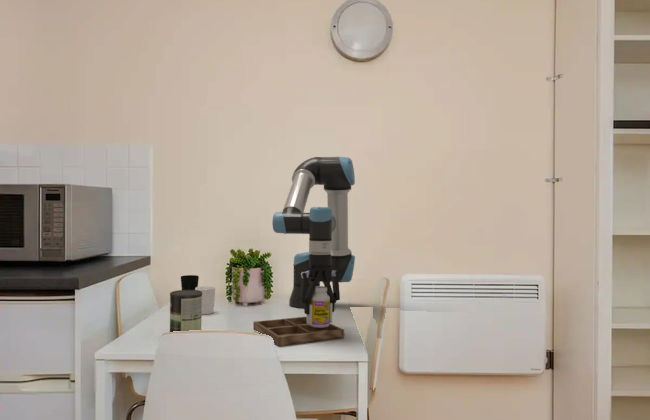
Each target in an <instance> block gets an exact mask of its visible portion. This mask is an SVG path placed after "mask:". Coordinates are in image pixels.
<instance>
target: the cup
mask: <svg viewBox="0 0 650 420" xmlns="http://www.w3.org/2000/svg"><path fill="white" fill-rule="evenodd" d="M199 276H200V275H197V274H196V275H194V274H193V275H191V274H189V275H181V276H180V286H181V290H195V288H196V287H199V279H200V277H199Z"/></svg>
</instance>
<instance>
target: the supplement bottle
mask: <svg viewBox="0 0 650 420" xmlns="http://www.w3.org/2000/svg"><path fill="white" fill-rule="evenodd" d="M326 292H327V287H325V286H323V285H320V286H316V287H315V290H314V294H313V296H312V299H311V303H310V304H312V325H310V326H311V327H315V328H325V327H328V326H329V317H330V297H329V296H328V295H327V293H326Z"/></svg>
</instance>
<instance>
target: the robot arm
mask: <svg viewBox="0 0 650 420" xmlns="http://www.w3.org/2000/svg"><path fill="white" fill-rule="evenodd" d="M355 179H356V178H355V168H354V164H353V160H352V159H351V158H350V157H345V156H321V157H320V156H315V157H311V158H308V159H306V160H304V161H303V162H301V163H300V164H299V165H298V166H297V167H296V168H295V170H294V171H293V174H292V177H291V182H292V184H291V186H290V189H289V191H288V193H287V194H288V195H287V198H286V201H285V203H284V206H283V209H282V211H280V212H275V213H274V214H273V216H272V225H271V226H272V231H274V233H276V234H283V235H287V234H289V235H291V234H292V235H293V234H294V235H296V234H297V235H298V234H299V235H300V234H301V235H309V238H308V239H309V240H308V251H307V252H299V253H296V254H295V255H294V256H293V265H292V266H293V287H292V291H291V294H290V296H289V299H288V303H289V304H288V305H289V306H290V307H292V308H297V309H304V314H305V315H306V317H307V324H309V325H312V304H310V303H311V299H312V296H313V294H314V290H315V287H316V286H321V282H322V283H323V285H324V287H327V292H326V294H327V295H328V296H329V297H330V317H329V323H330V324H332V323H333V313H334V312H335V304H336V303H337V301H340V300H341V293H340V292H341V291H340V283H349V282H351V281H352V279H353V275H354V268H355V260H356V256H355V255H354V254H352V250H351V249H350V248H349V216H348V215H349V197H348V195H349V192H351V190H352V186H354V185H355V183H356V180H355ZM317 185H318V186H323V190H324V192H326V194H327V197H326V198H327V206H312V207H310V209H309V212H305V209H306V204H307V202H308V198H309V196H310V192H311V189H312V188H313V187H314V186H317ZM331 283H332V285H331Z"/></svg>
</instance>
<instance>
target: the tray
mask: <svg viewBox="0 0 650 420" xmlns="http://www.w3.org/2000/svg"><path fill="white" fill-rule="evenodd" d="M252 325H253V329H254V330H256V331H258V332H260V333H262V334H266V335H269V336H271V337H272V338H273V340H274V343H275V344H274V343H273V344H274V345H275V346H276V347H278V348H279V347H284V346H293V345H301V344H308V343H318V342H326V341H333V340H341V339H345V329H343V328H341V327H339V326H337V325H334V324H332V323H329V326H328V327H325V328H315V327H311V326H310V325H309V324H307V316H298V317H289V318H279V319H277V318H276V319H269V320H268V319H267V320H257V321H253V324H252ZM254 330H253V331H254ZM256 331H255V332H256Z"/></svg>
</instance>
